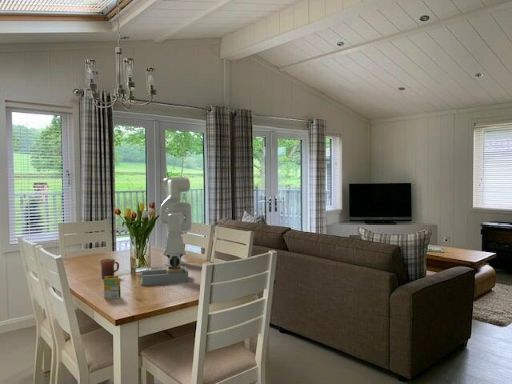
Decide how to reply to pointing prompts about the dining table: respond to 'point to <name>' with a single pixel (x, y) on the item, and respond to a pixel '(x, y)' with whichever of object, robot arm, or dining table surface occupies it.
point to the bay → (163, 277)
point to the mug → (108, 267)
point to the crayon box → (111, 287)
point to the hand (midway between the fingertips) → (174, 265)
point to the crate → (174, 267)
